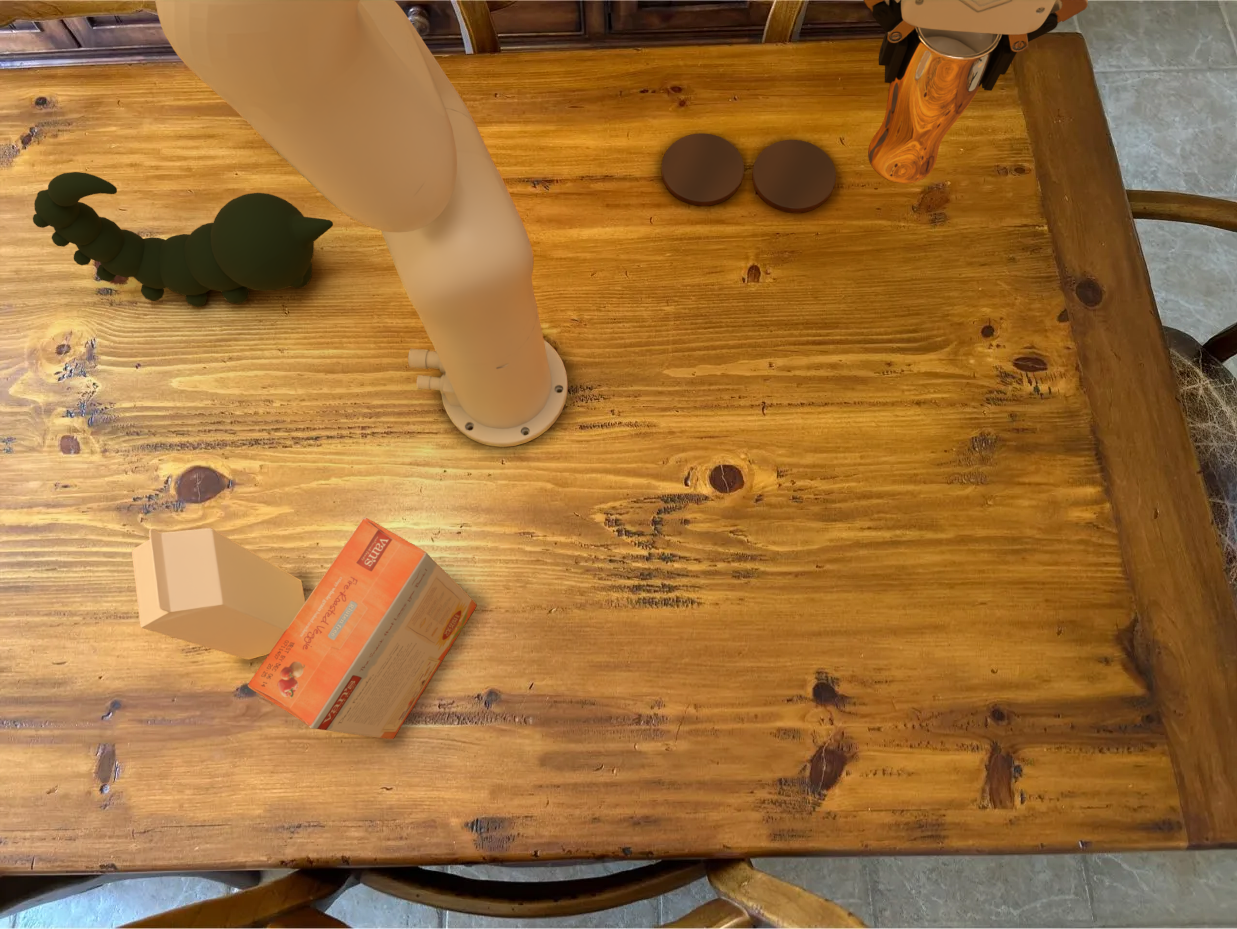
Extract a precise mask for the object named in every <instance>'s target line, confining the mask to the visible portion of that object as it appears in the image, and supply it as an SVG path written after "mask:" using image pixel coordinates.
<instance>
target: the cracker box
mask: <svg viewBox="0 0 1237 929" xmlns="http://www.w3.org/2000/svg"><path fill="white" fill-rule="evenodd" d="M477 606H478V604H477V603H476V602H475V600H474V599H473V598H471V596H470V595H468V593H467V592H466V591H465V590H464V589H463V588H462V587H461V586H460V585H459V584H458V583H457V582H456V581H455V580H454V579H453V578H452V577H451V576H450V575H449V574H448V573H447V572H446V571H445V570H444V569H443V568H442V567H441V565H439V564H438V563H437V561H435V560H434V559H433V558H432V557H431V555H430V554H429V553H427V551H426V550H424V549H422V548H420V547H419V546H417V545H415V544H413V543H412V542H411V541H408V540H407V539H406V538H405V539H404V538H403V537H401V536H400V535H398V534H396V533H394V532H393V531H391V530H389V529H388V528H386V527H384V526H382V525H381V524H379V523H378V522H375V521H373V520H371V519H370V518H368V517H366V516H363V517H362V519H361V520H360V522H359V523H358V525H357V526H356V528H355V529H354V530H353V532H352V533H351V535H350V536H349V537H348V538H347V541H346V542H345V543H344V545H343V546H342V548H341V550H340V551H339V552H338V554H337V555H336V557H334V560H333V561H332V563H331V564H330V566H329V567H328V569H327V570H326V572H324V575H323V576H322V577H321V578H320V580H319V582H318V583H317V585H316V586H315V587H314V588H313V590H312V592H311V593H310V594H309V596H308V598H307V599H306V600H305V603H304V605H303V606H302V608H301V609H300V611H299V612H298V614H297V615H296V617H295V618H294V620H293V621H292V622H291V624H290V625H289V627H288V628H287V629H286V631H285V632H284V633H283V635H282V636H281V638H280V639H279V640H278V642H277V643H276V645H275V646H274V648H273V649H272V650H271V652H270V653H269V654H267V655H266V657H265V659H264V660H263V662H262V663H261V665H260V666H259V668H257V671H255V673H254V675H253V677H252V678H251V679H250V680H249V682H248V684H247V687H248V688H249V689H251V691H254V692H255V693H257V694H258V695H260V696H261V697H263V698H265V699H266V700H267V701H270V703H273V704H274V705H276V706H277V707H279V708H280V709H282V710H284V711H285V712H287V713H288V714H290V715H292V716H293V717H295V718H297V719H298V720H299V721H301V722H302V723H304V725H305V724H306V725H307V726H308V727H309V729H313V730H321V731H328V732H334V733H341V734H348V735H354V736H361V737H370V738H371V737H372V738H378V739H379V738H380V739H387V740H393V739H394V738H395V737H396V735H397V734H398V732H399V731H400V729H401V727H402V726H403V724H404V722H405V721H406V719H407V718H408V717H409V715H410V713H411V712H412V710H413V708H414V707H415V705H416V704H417V702H418V700H419V699H420V698H421V696H422V694H423V693H424V691H425V689H426V687H427V686H428V684H429V682H430V681H431V680H432V678H433V676H434V675H435V673H436V671H437V670H438V669H439V667H440V665H441V663H442V662H443V660H444V659H445V657H446V656H447V654H448V653H449V651H450V649H451V648H452V646H453V645H454V643H455V641H456V639H457V638H458V636H459V635H460V633H461V632H462V630H463V629H464V627H465V626H466V624H467V622H468V620H469V619H470V617H471V615H472V614H473V613H474V611H475V609H476V607H477Z"/></svg>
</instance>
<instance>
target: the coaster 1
mask: <svg viewBox="0 0 1237 929" xmlns="http://www.w3.org/2000/svg"><path fill="white" fill-rule="evenodd" d="M744 173H745V165H744V160H743V157H742V154H741V152H740V151H739V150H738V149H737V148H736V146H735V145H733V143H732V142H730V141H729V140H727V139H726V138H724V137H721V136H719V135H716V134H711V133H702V132H701V133H692V134H688V135H685V136H683V137H680V138H679V139H677V140H675V141H674V142H673V143H672V144H670V146H669V147H668V148H667V149H666V151H665V153H664V155H663V158H662V161H661V179H662V182H663V184H664V186H665V187H666V189H667V190H668V191H669V193H670V194H671V195H673V196H674V197H675V198H676V199H678V200H679V201H681V202H684V203H686V204H689V205H693V206H699V207H706V206H707V207H708V206H714V205H718V204H721V203H723V202H725V201H726V200H728V199H730V198H731V197H733V195H734V194H736V192H737V191H738V189H739V188H740V187H741V184H742V182H743V179H744V178H743V177H744Z"/></svg>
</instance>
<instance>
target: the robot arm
mask: <svg viewBox="0 0 1237 929" xmlns="http://www.w3.org/2000/svg"><path fill="white" fill-rule="evenodd" d="M1088 1H1089V0H863V2H864V4H865V5H866V6H867V8H868V9H870V11H871V12H872V14H871V15H872V17H873V19H874V21H876V22H877V24H878V25H879V26H880V27H881V29H882V30H884V33H885V34H884V36H883V39H882V42H881V45H880V48H879V52H878V66H883V67H884V83H885V84H890V83H892V81H895V79H896V76H897V74H898V71H899V68H900V66H901V63H902V60H903V58H904V55H905V53H906V50H907V46H908V34H909V33H910V32H911V31H912V30H914V29H915V28H916V27H920V28H927V29H937V30H950V31H962V32H976V33H992V34H1002V37H1001V40H1000V42H999V43H998V46H997V48H996V51H995V54H994V57H993V59H992V62H991V64H990V67H989V69H988V71H987V73H986V76H985V78H984V80H983V82H982V84H981V89H983V90H984V91H989V92H992V91H993V90H994V88H995V85H996V83H997V81H998V80H999V77H1001V75H1003V76H1005V75H1006V74H1007V72H1008V70H1009V68H1010V66H1011V64H1012V62H1013V60H1014V58H1015V57H1016V55H1017V53H1020V52H1023V51H1024V50H1026V49H1027V48H1028V47H1029V43H1030V42H1031V41H1033V40H1036V39H1038V38H1040V37H1042V36H1044V35H1045V34H1048V33H1050V32H1052V31H1054V30H1055V29H1056V28H1057V27H1058V25H1059V23H1063V22H1065V21H1067V20H1069V19H1070V18H1074V16H1076V15H1078V14H1079V13H1082V12H1083V11H1085V10H1087V8H1088V6H1089V2H1088ZM154 2H155V7H156V12H157V16H158V20H159V24H160V26H161V30H162V32H163V34H164V36H165V38H166V39H167V41H168V43H169V45H170V46H171V48H172V49H173V51H174V52H175V54H176V55H177V57H178V58H179V59H180V60H181V62H183V63H184V65H186V67H187V68H188V69H189V70H190V71H191V72H192V73H193V74H194V75H195V76H196V77H197V78H199V79H200V81H202V83H204V85H206V86H207V87H208V88H209V89H210V90H212V91H213V92H214V93H215V94H216V95H218V97H220V99H222V100H223V101H224V102H225V103H227V105H228V106H230V107H231V108H232V109H233V110H234V111H235V112H236V113H237V114H238V115H239V116H240V117H241V118H242V119H243V120H244V121H246V122H247V123H248V124H249V126H251V127H252V129H253V130H254V131H255V132H256V133H257V134H258V135H259V136H260V138H262V139H263V141H265V142H266V143H267V144H268V145H269V146H270V147H271V148H272V149H274V151H275V152H277V154H278V155H280V156H281V157H282V158H283V159H284V160H285V161H286V162H287V163H288V164H289V165H290V166H291V167H293V168H294V169H295V171H297V172H298V173H299V174H300V175H301V176H302V177H303V178H304V179H305V180H306V181H307V182H308V183H310V184H311V185H312V187H313V188H315V189H316V190H317V191H318V193H320V194H321V195H322V196H323V197H324V198H325V199H326V200H327V201H328V202H329V203H330V204H332V205H333V206H334V207H335V208H337V209H338V210H339V211H341V213H343V214H344V215H345V216H347V217H348V218H351V219H353V220H354V221H357V223H360V224H362V225H364V226H366V227H369V228H371V229H374V230H378V231H380V232H381V235H382V237H383V240H384V242H385V244H386V247H387V250H388V252H389V255H390V258H391V259H392V263H393V265H394V267H395V270H396V272H397V274H398V278H399V280H400V282H401V284H402V287H403V289H404V291H405V293H406V296H407V297H408V299H409V301H410V303H411V305H412V306H413V308H414V310H415V311H416V313H417V315H418V317H419V319H420V321H421V324H422V326H423V328H424V330H425V332H426V334H427V337H428V338H429V340H430V341H431V344H432V346H433V348H434V350H431V349H425V348H424V349H423V348H414V347H413V348H410V349H409V351H408V353H407V354H408V355H407V363H408V367H409V368H410V369H423V370H429V369H435V370H439V371H440V373H441V376H440V377H439V376H432V375H421V374H418V375H417V377H416V389H418V390H424V391H433V390H434V391H440V394H441V401H442V404H443V407H444V410H445V412H446V414H447V416H448V418H449V419H450V421H451V423H452V424H453V425H454V427H456V428H457V430H458V431H459V432H461V433H462V434H463V435H464V436H466V437H467V438H469V439H471V440H472V441H474V442H476V443H479V444H482V445H485V446H489V447H500V448H505V447H506V448H507V447H515V446H518V445H522V444H526V443H528V442H530V441H532V440H535V439H537V438H539V437H540V436H541V435H543V434H544V433H546V432H547V431H548V430H550V428H551V427H552V426H553V425H554V424H555V423H556V421H558V419H559V417H560V416H561V414H562V413H563V409H564V407H565V404H566V402H567V398H568V391H569V386H568V385H569V384H568V383H569V382H568V376H567V371H566V370H567V369H566V367H565V364H564V362H563V360H562V358H561V356H560V354H559V353H558V352H557V351H556V349H555V348H554V347H553V346H552V345H551V344H550V342H548V341H547V340H545V338H544V335H543V328H542V324H541V318H540V314H539V308H538V305H537V300H536V295H535V290H534V284H533V272H534V271H533V270H534V263H535V262H534V252H533V247H532V243H531V241H530V237H529V235H528V232H527V230H526V227H525V224H524V222H523V220H522V217H521V216H520V213H519V210H518V209H517V207H516V204H515V201H514V200H513V197H512V196H511V194H510V192H509V190H508V188H507V187H508V186H506V183H505V181H504V179H503V177H502V174H501V173H500V171H499V169H498V168H497V166H496V165H495V163H494V160H493V158H492V155H491V154H490V152H489V150H488V147H487V145H486V143H485V140H484V139H483V137H482V134H481V133H480V130H479V128H478V126H477V124H476V121H475V120H474V118H473V116H472V114H471V111H470V110H469V109H468V107H467V105H466V103H465V102H464V100H463V99H462V97H461V96H460V94H459V92H458V91H457V89H456V88H455V86H454V85H453V83H452V81H451V80H450V79H449V78H448V76H447V75H446V73H445V71H444V70H443V68H442V67H441V66H440V64H439V62H438V60H437V59H436V58H435V56H434V55H433V53H432V52H431V50H430V49H429V47H428V46H427V45H426V43H425V41H424V39H423V38H422V37H421V35H420V34H419V32H418V31H417V29H416V27H415V26H414V24H413V23H412V22H411V20H410V19H409V17H408V16H407V14H406V13H405V12H404V10H403V9H402V7H401V6H400V4H398V3H397V1H395V0H154ZM559 391H560V392H559ZM471 428H472V429H471ZM525 433H527V434H525Z"/></svg>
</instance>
